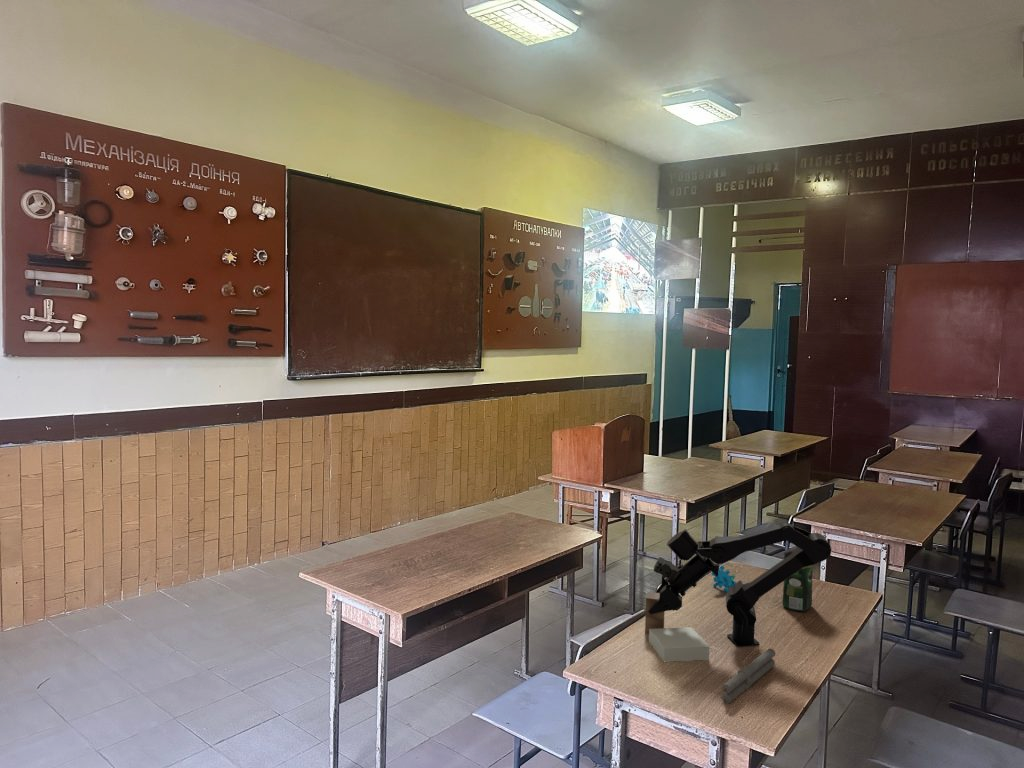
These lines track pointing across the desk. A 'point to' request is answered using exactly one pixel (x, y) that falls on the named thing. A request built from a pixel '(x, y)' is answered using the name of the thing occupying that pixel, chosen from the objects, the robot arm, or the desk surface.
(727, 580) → the gear
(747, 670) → the metal rod assembly
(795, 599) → the coffee jar
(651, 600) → the walnut block
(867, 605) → the desk surface
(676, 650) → the plate
